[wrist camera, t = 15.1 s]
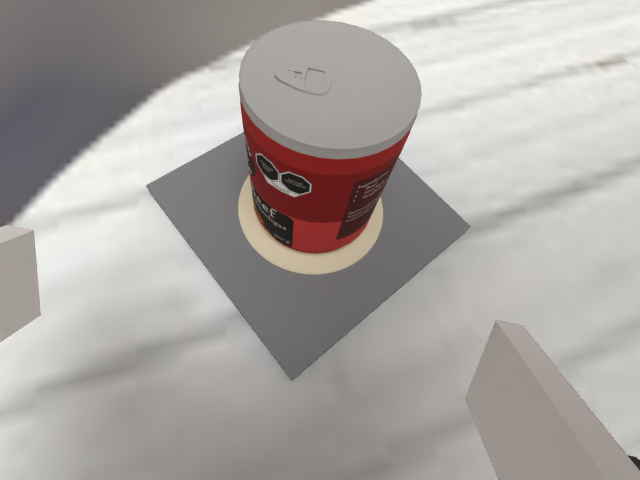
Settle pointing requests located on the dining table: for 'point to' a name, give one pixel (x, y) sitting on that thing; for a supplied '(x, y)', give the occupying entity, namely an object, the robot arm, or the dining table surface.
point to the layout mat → (298, 267)
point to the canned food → (323, 128)
